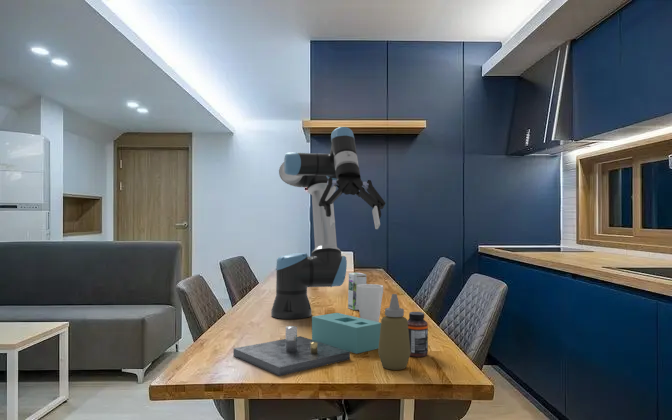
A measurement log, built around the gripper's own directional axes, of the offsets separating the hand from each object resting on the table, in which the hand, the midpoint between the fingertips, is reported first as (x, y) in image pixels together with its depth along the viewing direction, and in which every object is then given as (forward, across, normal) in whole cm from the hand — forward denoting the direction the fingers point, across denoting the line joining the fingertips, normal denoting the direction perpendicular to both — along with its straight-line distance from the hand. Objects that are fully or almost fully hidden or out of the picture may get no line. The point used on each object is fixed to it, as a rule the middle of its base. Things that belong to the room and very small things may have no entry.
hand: (355, 226), depth 146 cm
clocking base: (+34, -19, +12) cm, 41 cm away
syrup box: (-2, +18, +66) cm, 68 cm away
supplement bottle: (+36, +14, +8) cm, 40 cm away
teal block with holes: (+28, -1, +21) cm, 35 cm away
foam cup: (+13, +15, +43) cm, 47 cm away
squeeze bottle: (+41, +5, 0) cm, 42 cm away
